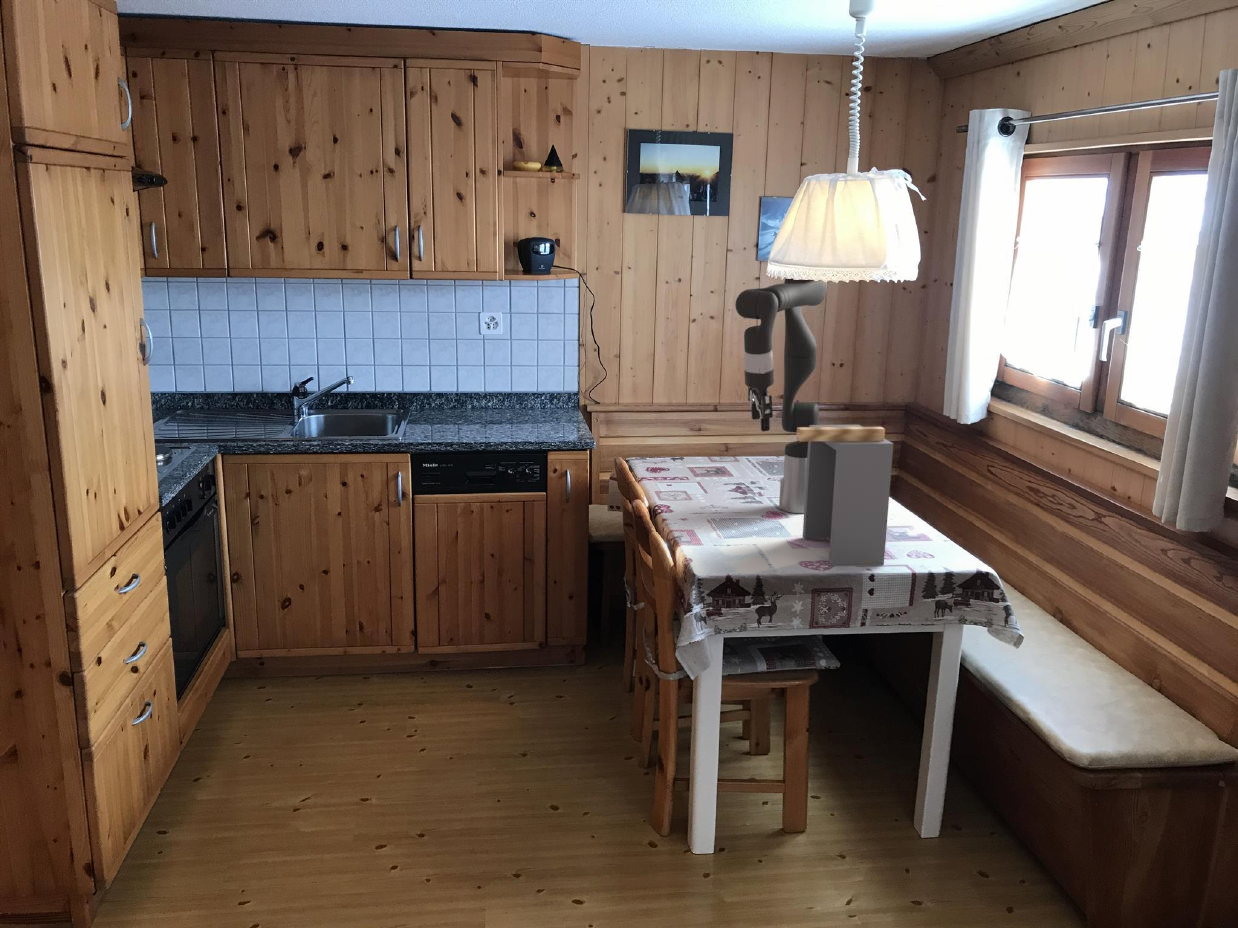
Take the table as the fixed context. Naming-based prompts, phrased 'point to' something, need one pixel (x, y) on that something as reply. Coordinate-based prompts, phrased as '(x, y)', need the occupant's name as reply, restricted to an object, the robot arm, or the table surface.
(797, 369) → the robot arm
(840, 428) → the wooden rod
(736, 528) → the table surface
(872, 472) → the gray shelf
